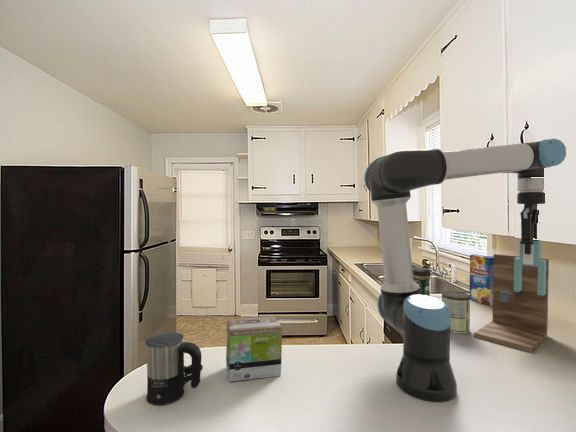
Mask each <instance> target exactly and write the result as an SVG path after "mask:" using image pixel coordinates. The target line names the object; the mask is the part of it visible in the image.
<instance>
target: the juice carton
mask: <svg viewBox="0 0 576 432" xmlns="http://www.w3.org/2000/svg"><path fill="white" fill-rule="evenodd" d="M493 262H494V255H488V254H482V253H480V254H479V253H478V254H470V255H469V293H468V294H469V295H470V301H474V302H476V303H480V304H484V305H487V306H493Z"/></svg>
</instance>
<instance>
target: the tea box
mask: <svg viewBox="0 0 576 432" xmlns="http://www.w3.org/2000/svg"><path fill="white" fill-rule="evenodd" d="M282 341H283V327H282V325H281V324H280V322H279V321H278V320H277V318H276V317H275V316H261V317H260V316H259V317H247V318H233V319H232V318H231V319H227V320H226V352H225V353H226V354H225V357H226V358H225V361H226V362H225V366H226V371H227V375H228V381H229V383H231V382H237V381H244V380H245V381H247V380H251V379H253V380H255V379H264V378H273V377H274V376H277V377H281V376H282V375H281V374H282V343H283V342H282Z"/></svg>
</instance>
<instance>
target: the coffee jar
mask: <svg viewBox="0 0 576 432" xmlns="http://www.w3.org/2000/svg"><path fill="white" fill-rule="evenodd" d="M412 268H413V279H414V281H415V282H416V283H417V284H418V285H419V286H420V295H427V296H430V297H431V295H430V294H431V293H430V279H431V270H430V269H429V268H424V267H419V266H414V267H413V266H412Z"/></svg>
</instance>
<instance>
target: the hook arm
mask: <svg viewBox="0 0 576 432" xmlns="http://www.w3.org/2000/svg"><path fill="white" fill-rule="evenodd" d="M520 295H522V290H521V291H520V292H517V291H514V288H512V289H510V290H508V291H500V301H501V302H507V303H508V302H509V301H511V300H513V299H515V298H517V297H518V296H520Z"/></svg>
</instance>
